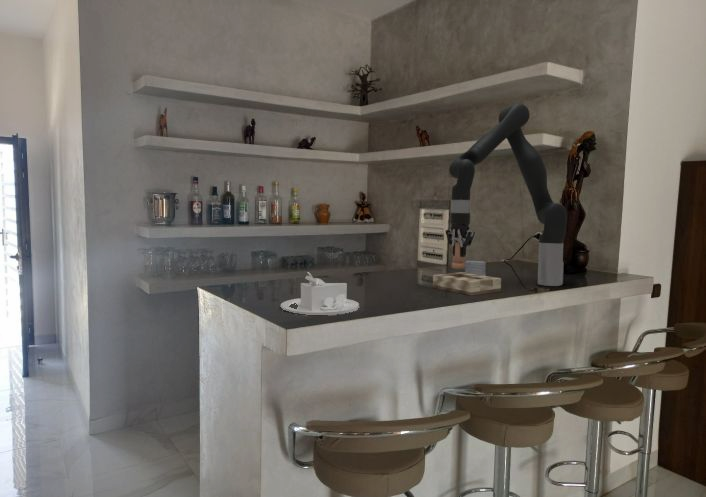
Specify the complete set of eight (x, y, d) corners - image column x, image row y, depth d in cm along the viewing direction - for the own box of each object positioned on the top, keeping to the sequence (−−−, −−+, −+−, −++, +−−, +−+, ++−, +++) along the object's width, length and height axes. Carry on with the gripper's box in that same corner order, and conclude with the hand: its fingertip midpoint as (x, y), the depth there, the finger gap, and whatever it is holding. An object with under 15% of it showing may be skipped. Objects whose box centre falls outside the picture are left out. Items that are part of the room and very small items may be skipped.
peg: (458, 266, 203) (459, 241, 202) (468, 268, 199) (469, 242, 198) (449, 267, 200) (449, 242, 199) (458, 269, 196) (459, 243, 195)
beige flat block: (432, 287, 201) (433, 275, 200) (461, 284, 210) (462, 272, 209) (471, 295, 184) (471, 281, 184) (500, 291, 193) (501, 278, 193)
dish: (294, 319, 146) (294, 280, 145) (272, 303, 169) (271, 270, 168) (371, 312, 156) (372, 276, 155) (340, 298, 179) (341, 266, 178)
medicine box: (485, 281, 217) (486, 261, 216) (483, 283, 213) (484, 262, 212) (466, 280, 221) (467, 260, 220) (464, 281, 217) (465, 261, 216)
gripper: (481, 212, 194) (479, 257, 195) (454, 211, 206) (452, 254, 207) (467, 212, 190) (465, 258, 191) (440, 211, 201) (439, 255, 203)
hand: (459, 256), depth 199 cm, fingers closed on peg, 3 cm apart
